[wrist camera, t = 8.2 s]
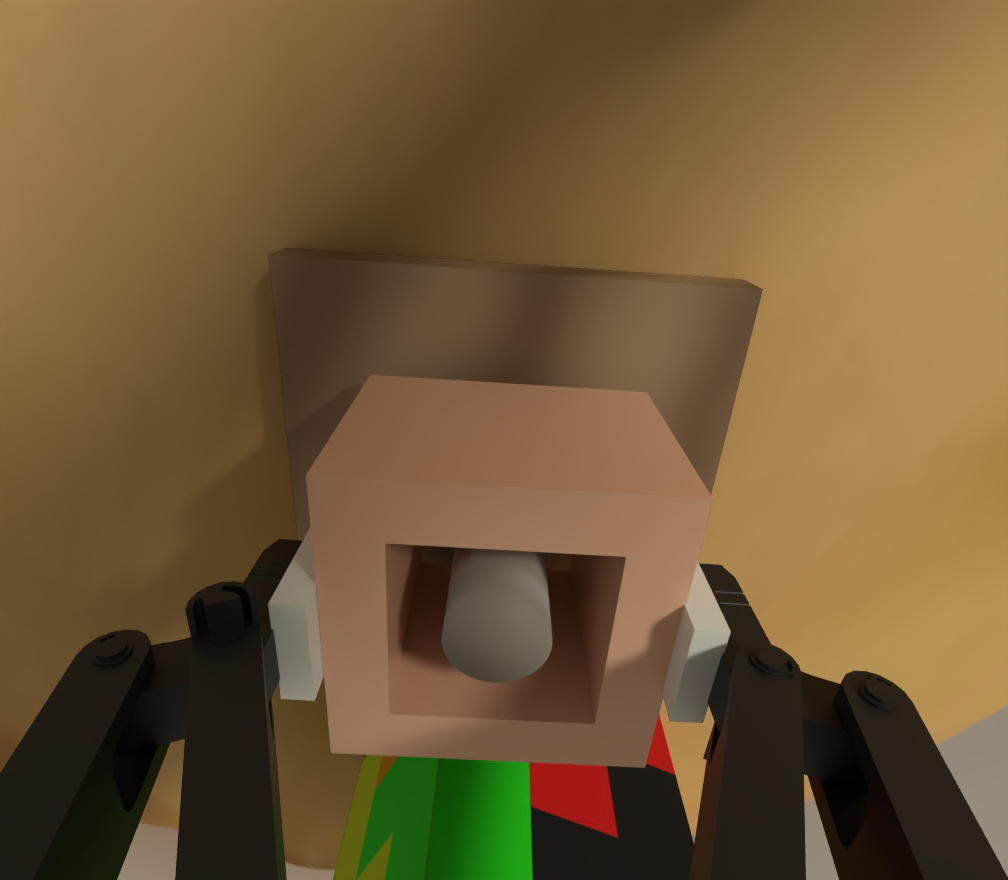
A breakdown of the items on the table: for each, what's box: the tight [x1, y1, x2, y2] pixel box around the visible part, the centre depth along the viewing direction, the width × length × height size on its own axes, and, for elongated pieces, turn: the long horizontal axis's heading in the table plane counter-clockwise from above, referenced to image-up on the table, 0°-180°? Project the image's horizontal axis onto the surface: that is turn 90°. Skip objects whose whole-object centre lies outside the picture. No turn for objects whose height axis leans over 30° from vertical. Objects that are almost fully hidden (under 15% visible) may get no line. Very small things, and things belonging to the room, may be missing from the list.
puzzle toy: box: [333, 715, 694, 880], centre depth 22 cm, size 10×10×10 cm
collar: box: [306, 375, 713, 768], centre depth 16 cm, size 8×8×6 cm
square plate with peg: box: [269, 248, 763, 683], centre depth 17 cm, size 14×14×8 cm
